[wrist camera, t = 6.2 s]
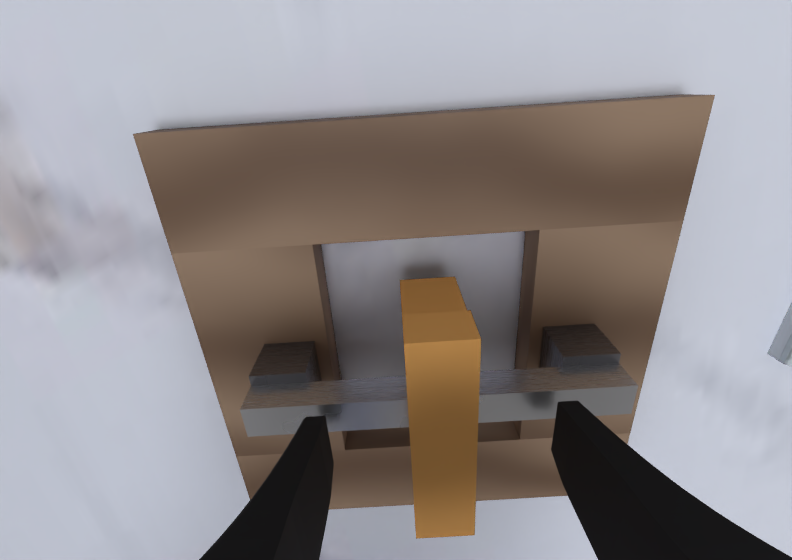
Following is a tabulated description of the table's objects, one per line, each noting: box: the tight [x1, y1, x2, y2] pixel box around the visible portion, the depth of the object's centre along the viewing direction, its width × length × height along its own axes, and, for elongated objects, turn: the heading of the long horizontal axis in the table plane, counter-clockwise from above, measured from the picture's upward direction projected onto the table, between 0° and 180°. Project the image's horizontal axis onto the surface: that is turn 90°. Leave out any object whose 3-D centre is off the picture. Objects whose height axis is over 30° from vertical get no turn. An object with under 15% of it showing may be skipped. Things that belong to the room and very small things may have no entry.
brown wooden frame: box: [133, 95, 715, 509], centre depth 17 cm, size 18×18×2 cm
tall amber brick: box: [400, 277, 481, 538], centre depth 14 cm, size 8×2×4 cm, turn 3°
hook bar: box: [240, 324, 638, 437], centre depth 15 cm, size 2×13×3 cm, turn 94°
